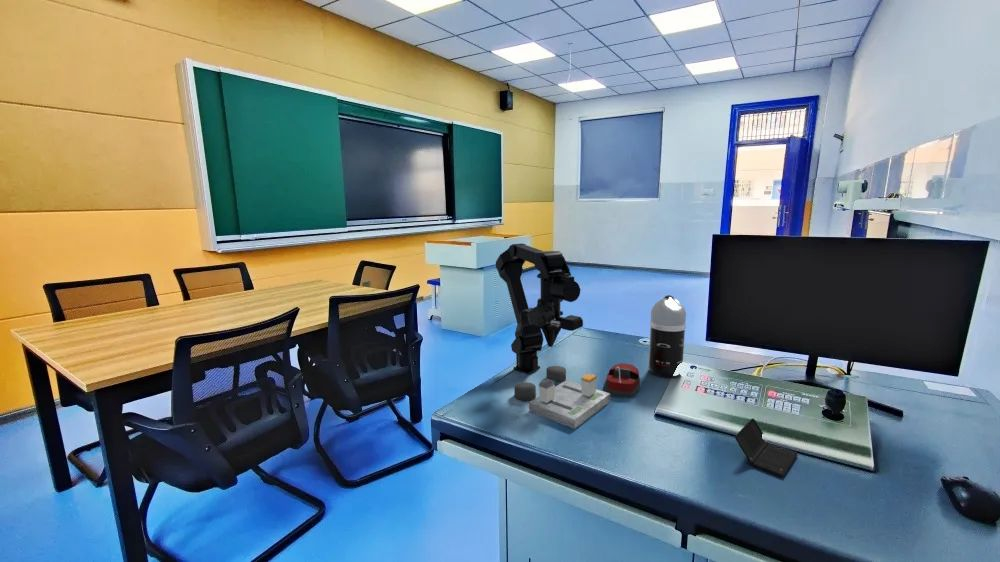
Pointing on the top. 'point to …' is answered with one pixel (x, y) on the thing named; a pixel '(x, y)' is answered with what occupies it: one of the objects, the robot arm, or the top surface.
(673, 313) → the spray bottle
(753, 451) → the handheld gaming console
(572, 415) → the panel
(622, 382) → the bumper car
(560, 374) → the coil
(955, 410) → the top surface
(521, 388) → the coil
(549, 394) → the switch
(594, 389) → the switch
